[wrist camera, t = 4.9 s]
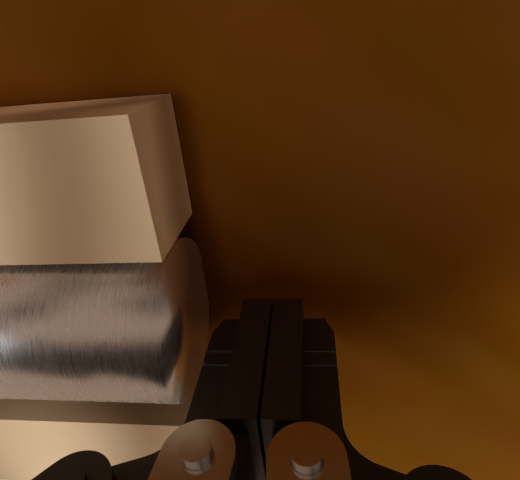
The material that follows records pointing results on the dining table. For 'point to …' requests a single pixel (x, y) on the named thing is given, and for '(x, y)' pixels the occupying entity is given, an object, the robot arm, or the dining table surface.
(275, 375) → the robot arm
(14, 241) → the wooden blocks
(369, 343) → the dining table surface
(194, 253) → the axle
